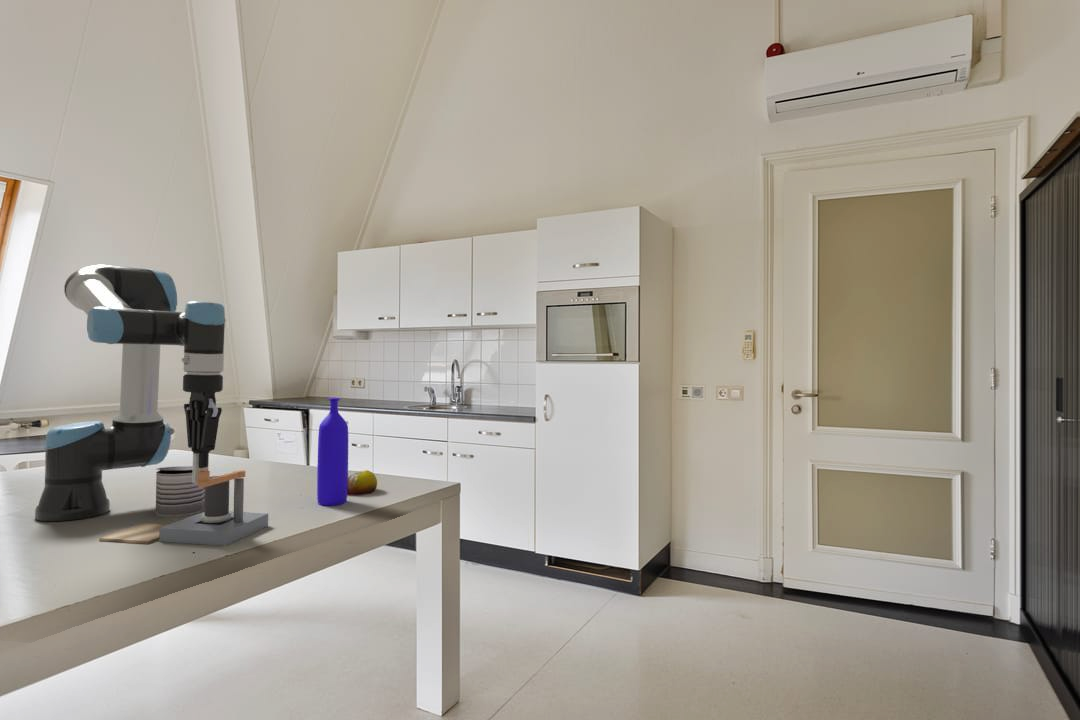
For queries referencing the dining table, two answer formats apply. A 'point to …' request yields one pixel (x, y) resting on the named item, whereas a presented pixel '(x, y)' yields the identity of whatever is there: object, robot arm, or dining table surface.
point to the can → (178, 492)
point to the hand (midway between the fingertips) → (200, 482)
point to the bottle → (332, 458)
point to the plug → (217, 504)
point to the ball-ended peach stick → (217, 478)
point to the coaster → (136, 534)
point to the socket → (210, 534)
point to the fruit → (361, 483)
